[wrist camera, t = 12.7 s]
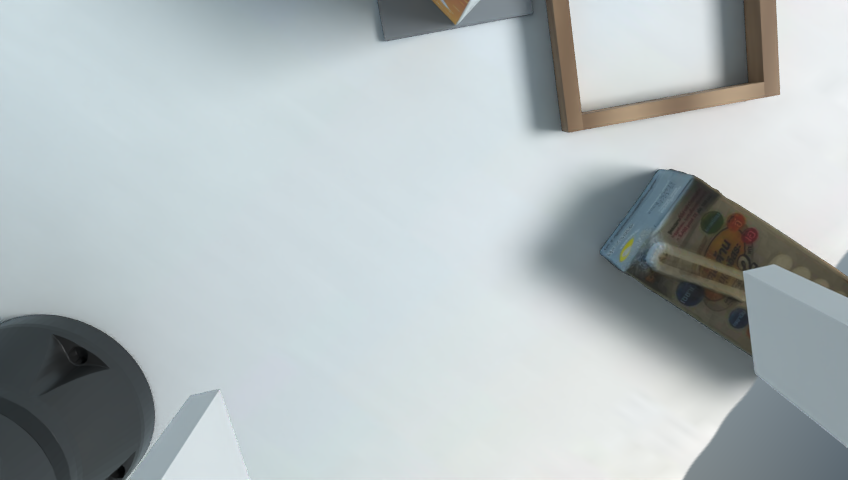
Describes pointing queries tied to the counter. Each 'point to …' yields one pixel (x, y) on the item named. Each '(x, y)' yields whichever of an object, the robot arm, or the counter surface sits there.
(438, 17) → the mat
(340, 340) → the counter surface
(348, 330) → the counter surface
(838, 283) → the beverage carton
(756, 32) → the frame
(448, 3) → the small box
